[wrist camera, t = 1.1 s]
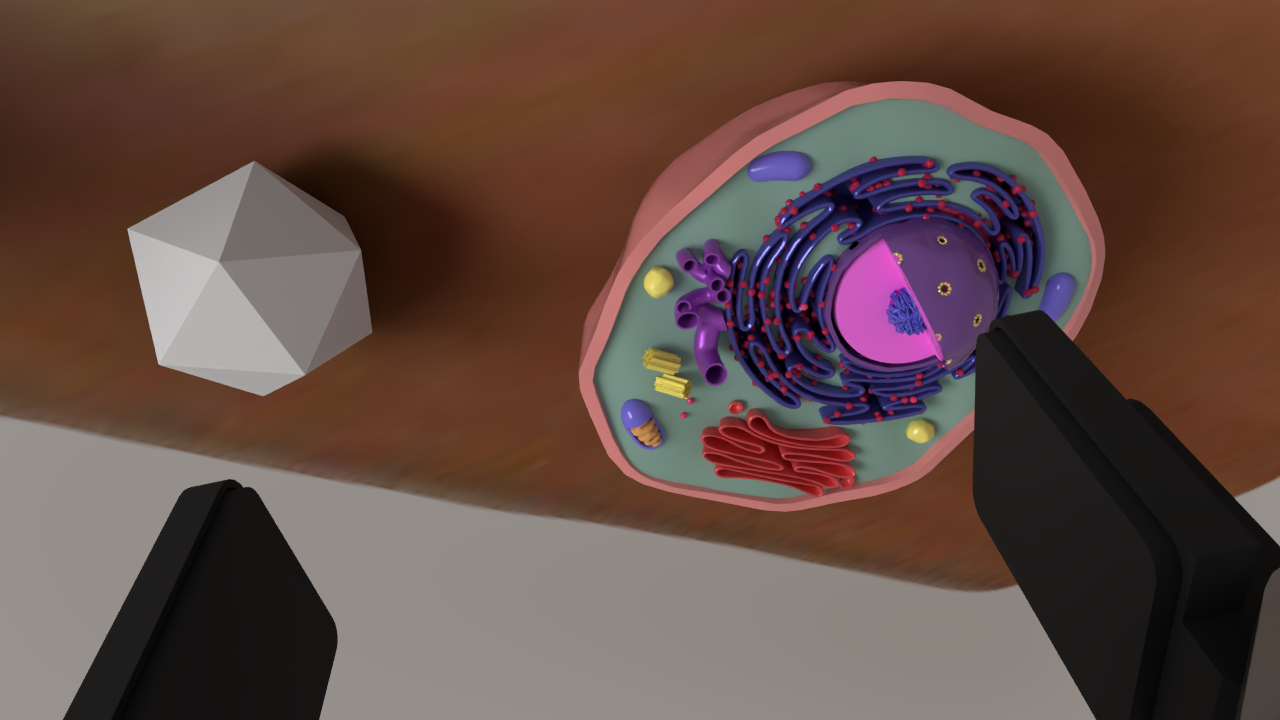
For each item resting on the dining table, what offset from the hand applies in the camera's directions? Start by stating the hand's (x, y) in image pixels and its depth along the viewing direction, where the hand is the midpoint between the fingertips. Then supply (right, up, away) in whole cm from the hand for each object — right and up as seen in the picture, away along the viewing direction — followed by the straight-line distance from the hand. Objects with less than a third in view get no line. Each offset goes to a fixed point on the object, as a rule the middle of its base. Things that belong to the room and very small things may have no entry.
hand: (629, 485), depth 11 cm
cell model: (+7, +7, +28) cm, 30 cm away
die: (-15, +7, +26) cm, 31 cm away
